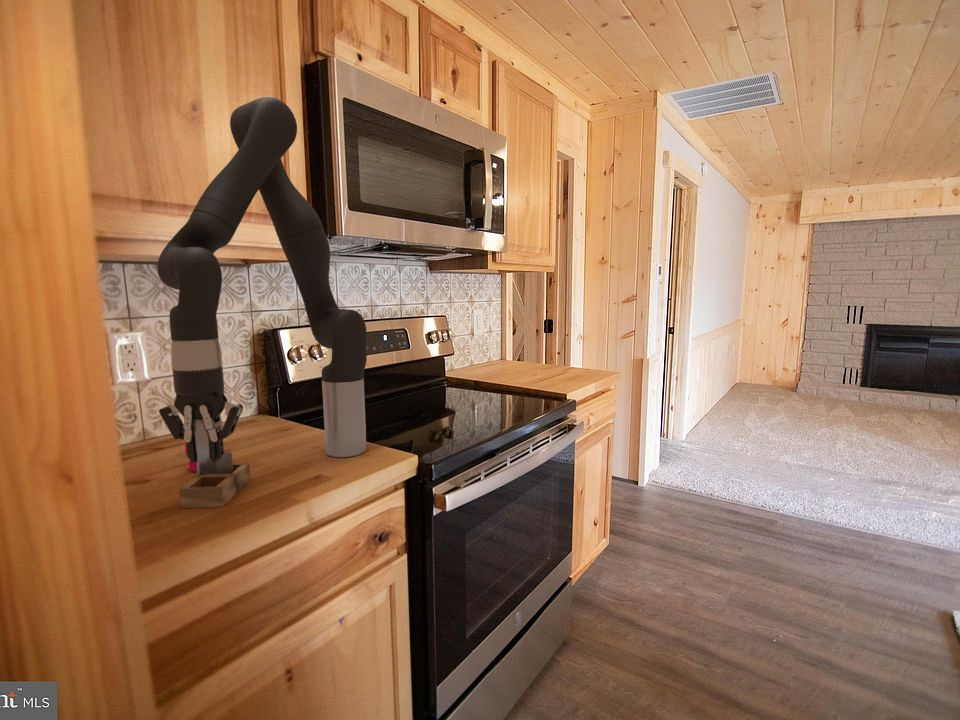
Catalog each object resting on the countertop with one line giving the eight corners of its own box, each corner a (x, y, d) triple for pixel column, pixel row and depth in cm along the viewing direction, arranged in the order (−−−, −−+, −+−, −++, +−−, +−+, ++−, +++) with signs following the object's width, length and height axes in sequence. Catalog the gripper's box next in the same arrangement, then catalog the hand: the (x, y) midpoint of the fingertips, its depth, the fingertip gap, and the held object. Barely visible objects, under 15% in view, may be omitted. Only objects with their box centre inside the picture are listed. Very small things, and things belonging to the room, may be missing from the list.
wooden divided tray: (214, 480, 95) (211, 449, 94) (250, 479, 96) (248, 448, 95) (181, 508, 84) (177, 472, 83) (222, 507, 84) (219, 471, 83)
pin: (202, 468, 87) (198, 415, 86) (219, 468, 87) (215, 415, 86) (194, 475, 84) (189, 420, 83) (211, 474, 84) (206, 419, 83)
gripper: (248, 361, 87) (255, 452, 90) (168, 362, 86) (177, 454, 89) (229, 368, 80) (237, 467, 82) (142, 369, 79) (152, 469, 82)
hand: (206, 460), depth 86 cm, fingers closed on pin, 3 cm apart
